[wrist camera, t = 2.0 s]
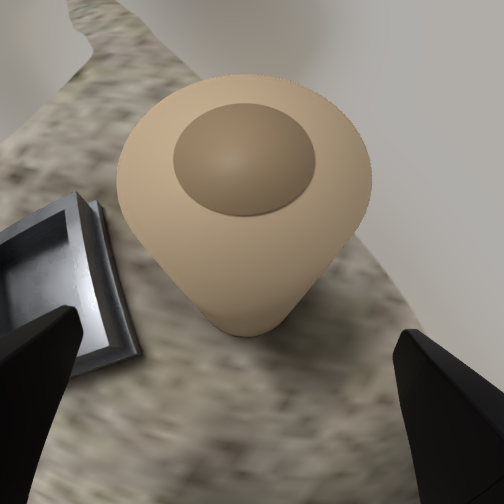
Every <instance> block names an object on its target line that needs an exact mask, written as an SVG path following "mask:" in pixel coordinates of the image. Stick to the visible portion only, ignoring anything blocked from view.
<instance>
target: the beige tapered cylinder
mask: <svg viewBox="0 0 504 504" xmlns="http://www.w3.org/2000/svg"><path fill="white" fill-rule="evenodd" d="M371 187H372V171H371V164H370V158H369V156H368V152H367V150H366V146H365V144H364V142H363V140H362V138H361V136H360V134H359V133H358V131H357V130H356V128H355V127H354V125H353V124H352V123H351V121H350V120H349V119H348V118H347V117H346V116H345V114H343V112H342V111H340V110H339V109H338V108H337V107H336V106H335V105H334V104H332V103H331V102H330V101H328V100H327V99H326V98H324V97H323V96H321V95H319V94H318V93H316V92H314V91H312V90H311V89H308V88H306V87H304V86H302V85H299V84H296V83H294V82H291V81H287V80H284V79H280V78H276V77H271V76H262V75H248V74H241V75H227V76H220V77H215V78H211V79H206V80H203V81H200V82H197V83H194V84H191V85H189V86H186V87H184V88H182V89H180V90H178V91H176V92H174V93H173V94H171V95H169V96H167V97H166V98H164V99H163V100H162V101H160V102H159V103H158V104H156V105H155V106H154V107H153V108H152V109H151V110H149V111H148V112H147V113H146V114H145V115H144V116H143V118H142V119H141V120H140V121H139V122H138V123H137V125H136V126H135V128H134V129H133V131H132V132H131V134H130V135H129V137H128V139H127V141H126V143H125V145H124V147H123V150H122V153H121V156H120V159H119V164H118V170H117V193H118V200H119V204H120V207H121V210H122V213H123V216H124V218H125V220H126V221H127V223H128V225H129V227H130V229H131V230H132V232H133V233H134V234H135V236H136V237H137V238H138V240H139V241H140V242H141V244H142V245H143V246H144V247H145V248H146V250H147V251H148V252H149V253H150V254H151V256H152V257H153V258H154V259H155V260H156V261H157V263H158V264H159V265H160V266H161V267H162V268H163V270H164V271H165V272H166V273H167V274H168V275H169V277H170V278H171V279H172V280H173V281H174V282H175V283H176V285H177V286H178V287H179V288H180V289H181V290H182V291H183V292H184V294H185V295H186V296H187V297H188V298H189V299H190V300H191V301H192V302H193V304H194V305H195V306H196V307H197V308H198V309H199V310H200V311H201V312H202V313H203V314H204V316H205V317H206V318H207V319H208V320H209V321H210V322H211V323H212V324H213V325H214V326H216V327H217V328H218V329H220V330H222V331H224V332H226V333H228V334H231V335H234V336H240V337H253V336H258V335H261V334H264V333H267V332H269V331H271V330H272V329H274V328H275V327H277V326H278V325H279V324H280V323H281V322H282V321H283V320H284V319H285V318H286V317H287V315H288V314H289V313H290V312H291V311H292V309H293V308H294V307H295V306H296V305H297V304H298V302H299V301H300V300H301V299H302V298H303V296H304V295H305V294H306V293H307V292H308V290H309V289H310V288H311V287H312V285H313V284H314V283H315V282H316V281H317V279H318V278H319V277H320V276H321V274H322V273H323V272H324V271H325V269H326V268H327V267H328V266H329V264H330V263H331V262H332V261H333V259H334V258H335V257H336V256H337V254H338V253H339V252H340V250H341V249H342V248H343V247H344V245H345V244H346V243H347V241H348V240H349V239H350V237H351V236H352V235H353V233H354V232H355V231H356V229H357V228H358V227H359V225H360V223H361V221H362V219H363V217H364V215H365V213H366V210H367V207H368V203H369V201H370V195H371V189H372V188H371Z"/></svg>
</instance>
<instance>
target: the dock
mask: <svg viewBox="0 0 504 504" xmlns="http://www.w3.org/2000/svg"><path fill="white" fill-rule="evenodd" d="M62 305H68V306H74V307H76V309H77V310H78V313H79V317H80V320H81V323H82V327H83V331H84V335H83V339H82V342H81V345H80V348H79V351H78V354H77V357H76V360H75V363H74V366H73V370H72V373H71V376H70V378H73V377H76V376H79V375H82V374H85V373H88V372H91V371H94V370H98V369H101V368H104V367H107V366H109V365H112V364H115V363H118V362H121V361H124V360H127V359H130V358H133V357H136V356H138V355H141V354H142V352H141V350H140V347H139V344H138V341H137V338H136V335H135V332H134V329H133V326H132V323H131V320H130V316H129V313H128V310H127V307H126V303H125V300H124V297H123V293H122V290H121V286H120V282H119V279H118V275H117V271H116V268H115V264H114V260H113V256H112V252H111V247H110V243H109V239H108V234H107V230H106V225H105V220H104V216H103V211H102V206H101V205H100V204H99V202H98V201H97V200H95V201H92V202H90V203H88V204H87V203H86V202H85V200H84V199H83V198H82V197H81V196H80V195H79V194H78V192H77V191H74V192H72V193H70V194H68V195H66V196H64V197H62V198H60V199H58V200H56V201H54V202H52V203H50V204H48V205H47V206H45V207H43V208H41V209H39V210H37V211H36V212H34V213H32V214H30V215H28V216H27V217H25V218H23V219H21V220H20V221H18V222H16V223H14V224H13V225H11V226H9V227H8V228H6V229H4V230H3V231H1V232H0V337H1V336H3V335H5V334H7V333H9V332H11V331H13V330H15V329H17V328H19V327H20V326H22V325H24V324H26V323H28V322H30V321H32V320H34V319H36V318H38V317H40V316H42V315H44V314H46V313H48V312H50V311H52V310H54V309H56V308H58V307H60V306H62Z"/></svg>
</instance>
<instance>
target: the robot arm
mask: <svg viewBox="0 0 504 504" xmlns="http://www.w3.org/2000/svg"><path fill="white" fill-rule="evenodd" d="M83 335H84V331H83V327H82V323H81V320H80V317H79V313H78V310H77V309H76V307H74V306H68V305H62V306H60V307H58V308H56V309H54V310H52V311H50V312H48V313H46V314H44V315H42V316H40V317H38V318H36V319H34V320H32V321H30V322H28V323H26V324H24V325H22V326H20V327H19V328H17V329H15V330H13V331H11V332H9V333H7V334H5V335H3V336H1V337H0V504H27V501H28V497H29V496H28V495H29V493H30V489H31V486H32V482H33V479H34V475H35V472H36V469H37V466H38V462H39V459H40V456H41V453H42V450H43V447H44V444H45V441H46V438H47V436H48V433H49V430H50V427H51V425H52V422H53V419H54V417H55V414H56V411H57V409H58V406H59V404H60V401H61V399H62V396H63V394H64V391H65V389H66V387H67V384H68V382H69V379H70V376H71V373H72V370H73V366H74V363H75V360H76V357H77V354H78V351H79V348H80V345H81V342H82V339H83ZM393 364H394V370H395V376H396V382H397V389H398V395H399V401H400V407H401V411H402V415H403V419H404V423H405V427H406V432H407V436H408V440H409V445H410V449H411V454H412V459H413V464H414V469H415V474H416V479H417V485H418V491H419V497H420V503H421V504H504V393H503V392H502V391H500V390H499V389H498V388H497V387H495V386H494V385H492V384H491V383H490V382H489V381H487V380H486V379H485V378H483V377H482V376H481V375H479V374H478V373H477V372H475V371H474V370H472V369H471V368H470V367H468V366H467V365H466V364H464V363H463V362H462V361H460V360H459V359H457V358H456V357H454V356H453V355H452V354H451V353H449V352H448V351H447V350H445V349H444V348H442V347H441V346H440V345H438V344H437V343H435V342H434V341H433V340H431V339H430V338H429V337H427V336H426V335H424V334H423V333H422V332H420V331H419V330H417V329H405V330H403V331H402V332H401V334H400V337H399V339H398V342H397V344H396V347H395V349H394V352H393Z"/></svg>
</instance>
